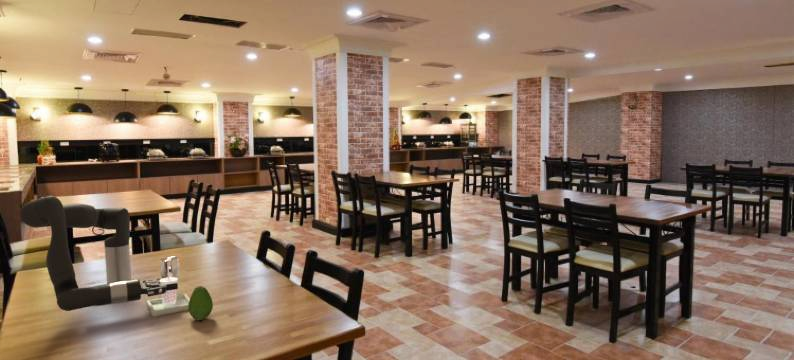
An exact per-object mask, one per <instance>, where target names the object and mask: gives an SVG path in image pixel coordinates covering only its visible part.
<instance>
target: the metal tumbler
mask: <svg viewBox="0 0 794 360" xmlns="http://www.w3.org/2000/svg"><path fill="white" fill-rule="evenodd" d="M159 263H160V266H159V267H160V268H159V269H160V276H161V279H163V278H168V270H167V266H169V277H176V278H178V279H177V280H178V281H177V284H178V285H179V279H180V270H181V269H180V260H179V257H178V256H174V255H173V256H166V257H165V256H164V257H162V258H160V262H159ZM180 293H181V292H180V289H179V287H178V289H177V295H181V294H180Z"/></svg>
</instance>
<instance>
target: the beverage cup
mask: <svg viewBox="0 0 794 360" xmlns="http://www.w3.org/2000/svg"><path fill="white" fill-rule="evenodd" d="M167 270H168V278H163V279H162V278H160V279H161V280H160V284H161V285H164V284H165V285H166V284H172V283H177V281H178V282H179V280H177V279H178V278H176V277H169V266H167ZM160 290H162V289H160ZM176 295H177V289H175V290H169V291H166V293H164V294H161V298H162V302H163V305H172V304H175V303H176Z"/></svg>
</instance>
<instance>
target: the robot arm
mask: <svg viewBox="0 0 794 360" xmlns="http://www.w3.org/2000/svg"><path fill="white" fill-rule="evenodd" d="M19 217H20V220H21V221H22V222H23V223H24V224H25V225H26V226H28V227H30V228H33V229H34V228H37V229H38V228H47V227H50V229H51V231H50V232H51V237H50V242H49V247H48V250H47V253H46V258H45V264H46V268H47V271H48V275H49V278H50V282H51V284H52V286H53V290H54V293H55V298H56V305H57V307H59V309H60V310H63V311H65V312H71V311H75V310H80V309H85V308H89V307H100V306H105V305H106V306H107V305H112V304H113V305H114V304H123V303H129V302H133V301H134V302H135V301H139V300H141V299H142V295H147V297H153V296H158V295H162V294H164V293H166V291H169V290H175V289H178V288H179V283H178V284H177V283H172V284H166V285H165V284H164V285H161V284H160V280H161V279H162V278H152V279H144V280H142V283H141V281H140V279H139V278H136V279H135V278H134V279H132V270H131V269H132V268H131V267H132V266H131V252H130V251H131V250H130V238H131V237H130V236H131V233H130V232H131V219H130V217H131V216H130V212H129V210H128V209H127V208H126V207H104V208H95V206H93V205H90V204H84V203H67V204H63V202H62V201H61V200H60V199H59V198H58V197H57V196H54V195H47V196H42V197H41V198H37V199H34V200H31V201H28V202H27V203H24V204H23V205H22V206H21V208H20V209H19ZM68 228H74V229H89V228H99V229H102V230H108V231H110V230H111V231H112V230H113V231H115V233H114V235H113V236H110V237H107V238H105V239H104V242H103V244H104V256H105V257H104V258H105V273H106V275H105V276H106V284H100V285H99V284H98V285H94V286H89V287H79V285H78V282H77V279H76V272H75V269H74V266H73V265H74V264H73V261H72V258H71V253H70V249H69V240H68V230H67V229H68ZM161 289H162V290H161Z"/></svg>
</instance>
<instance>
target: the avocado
mask: <svg viewBox="0 0 794 360" xmlns="http://www.w3.org/2000/svg"><path fill="white" fill-rule="evenodd" d="M189 298H190V301H189V304H188V310H187V311H188V313H189V314H190V315H189V316H191V317H192V318H193V319H194V320H197V321H202V320H205V319H207V318H208V317H209V316H210V315H211V313H212V311H213V307H214V304H213V303H214V302H213V299H212V296H211V295H210V292H209V291H208V289H207V288H206V287H204V286H202V285H198V286H195V288H194V289H193V291H192V292H191V296H190V297H189Z"/></svg>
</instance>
